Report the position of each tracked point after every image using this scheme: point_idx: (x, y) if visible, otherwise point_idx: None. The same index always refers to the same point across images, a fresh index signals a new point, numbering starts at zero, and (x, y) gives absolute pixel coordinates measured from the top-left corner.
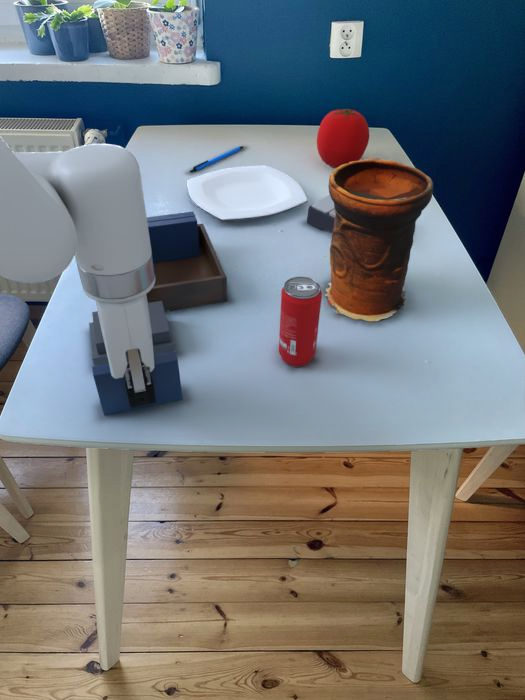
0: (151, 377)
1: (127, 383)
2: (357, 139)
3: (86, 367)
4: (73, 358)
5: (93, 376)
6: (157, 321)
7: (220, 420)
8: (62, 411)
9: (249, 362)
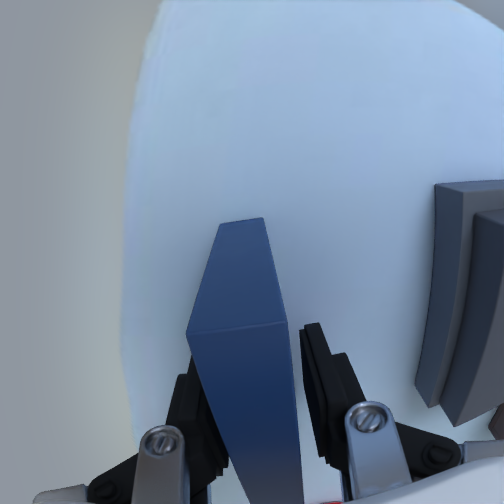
0: (221, 474)
1: (139, 457)
2: None
3: (446, 155)
4: (480, 120)
5: (188, 329)
6: (498, 393)
7: None
8: (258, 79)
9: (335, 480)
